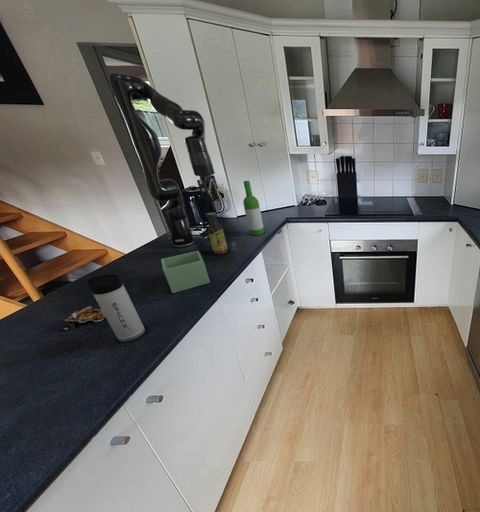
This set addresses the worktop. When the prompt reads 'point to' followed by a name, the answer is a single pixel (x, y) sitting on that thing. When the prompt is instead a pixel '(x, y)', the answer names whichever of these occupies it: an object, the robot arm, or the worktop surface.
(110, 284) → the travel mug
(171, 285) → the caddy
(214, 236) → the sauce bottle
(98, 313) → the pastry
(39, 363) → the worktop surface
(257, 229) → the wine bottle
